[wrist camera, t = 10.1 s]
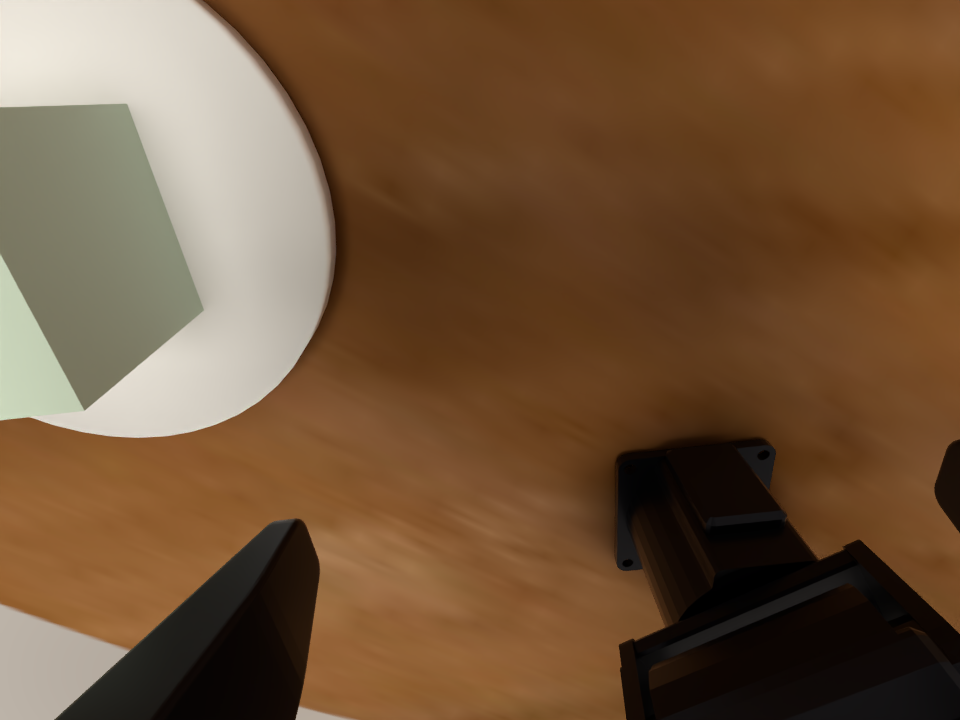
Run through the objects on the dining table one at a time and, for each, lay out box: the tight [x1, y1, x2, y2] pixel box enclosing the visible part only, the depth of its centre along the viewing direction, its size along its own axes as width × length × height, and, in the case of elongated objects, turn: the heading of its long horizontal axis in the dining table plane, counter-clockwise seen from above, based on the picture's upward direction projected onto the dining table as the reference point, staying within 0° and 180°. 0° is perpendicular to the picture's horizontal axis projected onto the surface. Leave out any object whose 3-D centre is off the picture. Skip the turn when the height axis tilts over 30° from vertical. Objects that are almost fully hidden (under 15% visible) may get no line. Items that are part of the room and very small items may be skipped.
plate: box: [0, 0, 336, 438], centre depth 16 cm, size 15×15×2 cm
